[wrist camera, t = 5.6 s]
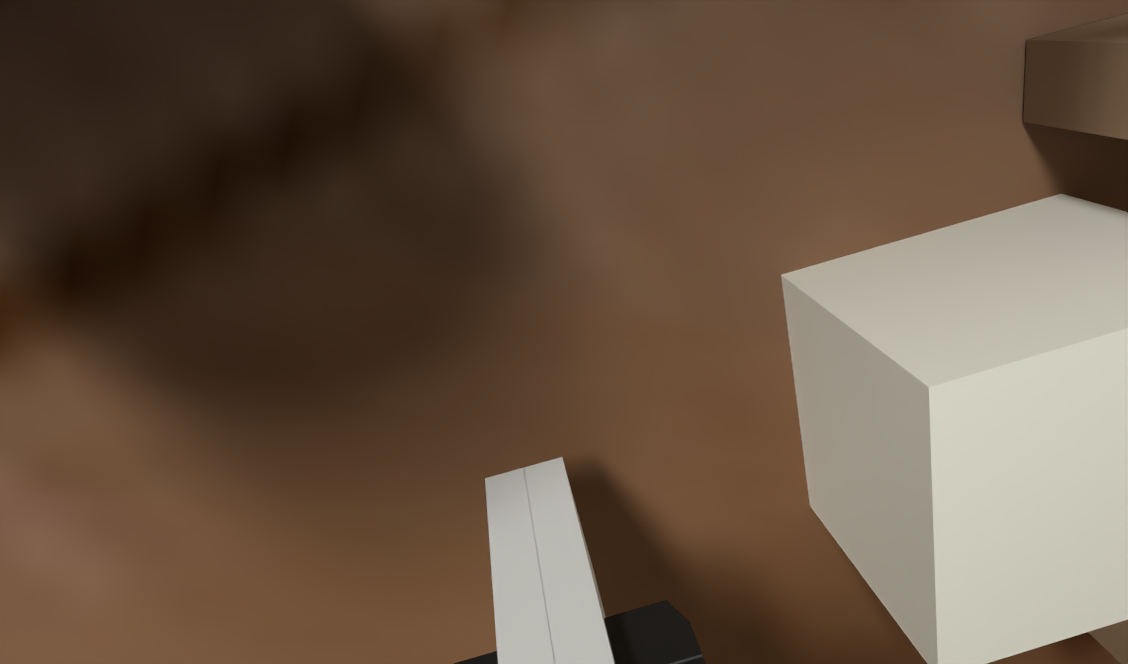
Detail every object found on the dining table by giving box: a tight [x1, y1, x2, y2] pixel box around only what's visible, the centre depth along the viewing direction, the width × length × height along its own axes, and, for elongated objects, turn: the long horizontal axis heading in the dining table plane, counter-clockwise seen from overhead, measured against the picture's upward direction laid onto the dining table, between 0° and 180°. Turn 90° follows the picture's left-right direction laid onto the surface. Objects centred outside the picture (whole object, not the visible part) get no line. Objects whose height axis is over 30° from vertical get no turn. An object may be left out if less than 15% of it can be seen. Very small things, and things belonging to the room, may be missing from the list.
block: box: [781, 194, 1128, 664], centre depth 13 cm, size 6×6×5 cm
